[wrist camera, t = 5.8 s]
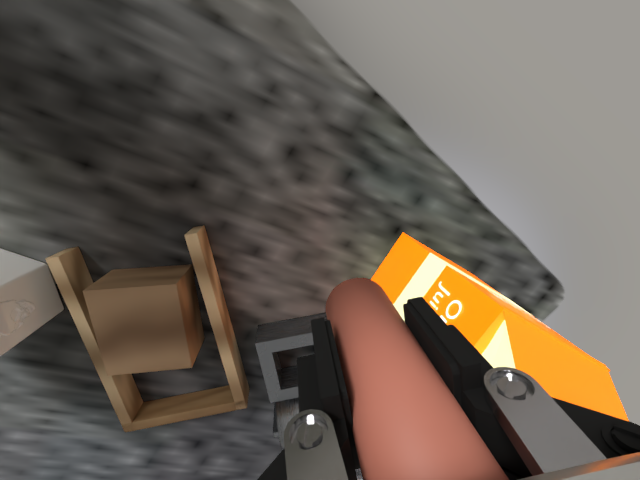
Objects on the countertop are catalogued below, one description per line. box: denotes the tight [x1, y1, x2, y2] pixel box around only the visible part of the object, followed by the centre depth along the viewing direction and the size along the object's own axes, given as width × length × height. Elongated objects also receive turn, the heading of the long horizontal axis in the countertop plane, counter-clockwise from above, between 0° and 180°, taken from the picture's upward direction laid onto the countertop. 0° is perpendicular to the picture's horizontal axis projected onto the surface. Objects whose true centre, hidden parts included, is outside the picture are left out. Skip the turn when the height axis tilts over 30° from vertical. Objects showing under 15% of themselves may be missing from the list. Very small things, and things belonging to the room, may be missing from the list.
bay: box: [46, 226, 250, 432], centre depth 29 cm, size 18×12×2 cm, turn 9°
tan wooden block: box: [83, 264, 205, 376], centre depth 27 cm, size 8×7×4 cm
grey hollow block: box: [255, 313, 327, 449], centre depth 31 cm, size 12×7×5 cm, turn 9°
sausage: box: [326, 278, 509, 480], centre depth 10 cm, size 3×3×10 cm
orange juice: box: [371, 233, 629, 421], centre depth 22 cm, size 8×9×20 cm
